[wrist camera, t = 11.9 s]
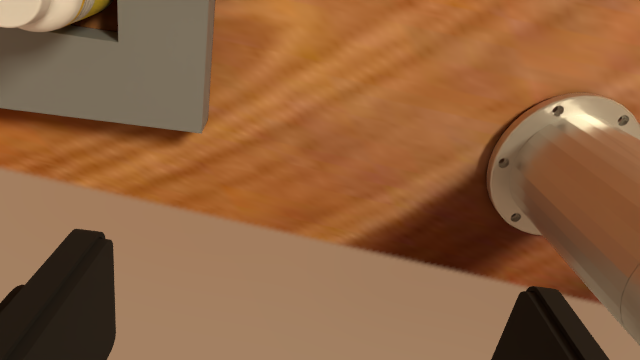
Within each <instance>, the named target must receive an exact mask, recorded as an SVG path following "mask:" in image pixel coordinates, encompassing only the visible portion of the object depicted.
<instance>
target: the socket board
mask: <svg viewBox="0 0 640 360" xmlns="http://www.w3.org/2000/svg"><path fill="white" fill-rule="evenodd" d="M117 5H118V32H113V31H107V30H100V29H93V28H87V27H80V26H73V25H67V26H65V27H62V28H60V29H56V30H53V31H48V32H32V31H27V30H23V29H20V28H17V27H16V28H4V27H0V108H4V109H12V110H20V111H28V112H36V113H44V114H52V115H59V116H67V117H75V118H83V119H91V120H99V121H107V122H115V123H123V124H131V125H139V126H147V127H154V128H162V129H170V130H178V131H186V132H194V133H202V131H203V129H204V127H205V125H206V122H207V120H208V110H209V93H210V77H211V60H212V43H213V27H214V10H215V0H117Z"/></svg>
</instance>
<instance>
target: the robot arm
mask: <svg viewBox="0 0 640 360" xmlns="http://www.w3.org/2000/svg"><path fill="white" fill-rule="evenodd" d="M487 189H488V194H489V198H490V200H491V202H492V204H493V206H494V207H495V209H496V210H497V211H498V213H499V214H500V215H501V217H502V218H503V219H504V220H505V221H506V222H507V223H508V224H510V225H511V226H513V227H515V228H517V229H519V230H520V231H523V232H527V233H530V234H534V235H543V236H544V237H545V238H546V240H547V241H548V242H549V243H550V244H551V245H552V246H553V248H554V249H555V250H556V251H557V252H558V253H559V254H560V256H561V257H562V258H563V259H564V260H565V261H566V263H567V264H568V265H569V266H570V267H571V268H572V269H573V271H574V272H575V273H576V274H577V275H578V276H579V277H580V279H581V280H582V281H583V282H584V283H585V284H586V285H587V287H588V288H589V289H590V290H591V291H592V292H593V293H594V295H595V296H596V297H597V298H598V299H599V300H600V301H601V303H602V304H603V305H604V306H605V307H606V308H607V310H608V311H609V312H610V313H611V314H612V315H613V316H614V317H615V319H616V320H617V321H618V322H619V323H620V324H621V326H623V328H624V329H625V330H626V331H627V332H628V333H629V334H630V335H631V337H632V338H633V339H634V340H635V341H636V342H637V343H638V344H639V346H640V125H639V123H638V122H637V120H636V119H635V117H634V115H633V114H632V113H631V112H630V111H629V110H627V109H626V108H625V107H624V106H623V105H621V104H619V103H617V102H615V101H613V100H612V99H609V98H606V97H604V96H601V95H598V94H591V93H569V94H565V95H561V96H556V97H553V98H551V99H548V100H546V101H543V102H541V103H539V104H537V105H536V106H534V107H532V108H531V109H529V110H527V111H526V112H524V113H523V114H522V115H521V116H520V117H519V118H517V119H516V120H515V121H514V122H513V123H512V124H511V125H510V126H509V127H508V129H507V130H506V131H505V132H504V133H503V134H502V136H501V138H500V139H499V141H498V142H497V144H496V146H495V147H494V150H493V152H492V155H491V157H490V160H489V164H488V169H487ZM113 264H114V261H113V243H112V241H111V240H108V239H105V235H104V234H103V232H98V231H90V230H82V229H74V230H73V231H72V232H71V233H70V234H69V235H68V236H67V237H66V238H65V240H64V241H63V242H62V243H61V244H60V245H59V247H58V248H57V249H56V250H55V251H54V252H53V253H52V255H51V256H50V257H49V258H48V259H47V260H46V262H45V263H44V264H43V265H42V266H41V267H40V268H39V269H38V271H37V272H36V273H35V274H34V275H33V276H32V278H31V279H30V280H29V281H28V282H27V283H26V284H25V285H20V286H17V287H16V288H14V289H13V290H12V291H11V292H10V293H9V294H8V295H7V296H6V297H5V299H4V300H3V301H2V302H1V303H0V360H107V358H108V356H109V354H110V352H111V350H112V347H113V345H114V340H115V334H116V327H115V296H114V295H115V293H114V265H113ZM491 360H609V358H608V357H607V356H606V354H605V353H604V352H603V350H602V349H601V348H600V346H599V345H598V343H597V342H596V341H595V340H594V338H593V337H592V335H591V334H590V333H589V331H588V330H587V328H586V327H585V326H584V324H583V323H582V322H581V320H580V319H579V318H578V316H577V315H576V313H575V312H574V311H573V309H572V308H571V307H570V305H569V304H568V302H567V301H566V300H565V298H564V297H563V296H562V294H561V293H560V292H559V291H558V290H556V289H551V288H543V287H535V286H531V287H529V288H528V289H527V290H526V292H525V291H523V292H521V293H520V294H519V296H518V298H517V300H516V303H515V305H514V308H513V310H512V312H511V314H510V317H509V319H508V322H507V324H506V326H505V329H504V331H503V333H502V336H501V338H500V340H499V343H498V345H497V347H496V350H495V352H494V355H493V357H492V359H491Z"/></svg>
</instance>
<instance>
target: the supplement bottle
mask: <svg viewBox="0 0 640 360" xmlns="http://www.w3.org/2000/svg"><path fill="white" fill-rule="evenodd" d="M112 1H113V0H0V27H4V28H16V27H17V28H20V29H23V30H27V31H32V32H48V31H53V30H56V29H60V28H62V27H65V26H67V25H69V24H72V23H74V22H77V21H79V20H82V19H84V18H87V17H89V16H92V15H94V14H96V13H99V12H101V11H102V10H104V9H105V8H107V7H108V6H109V5H110V4H111V3H112Z"/></svg>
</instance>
